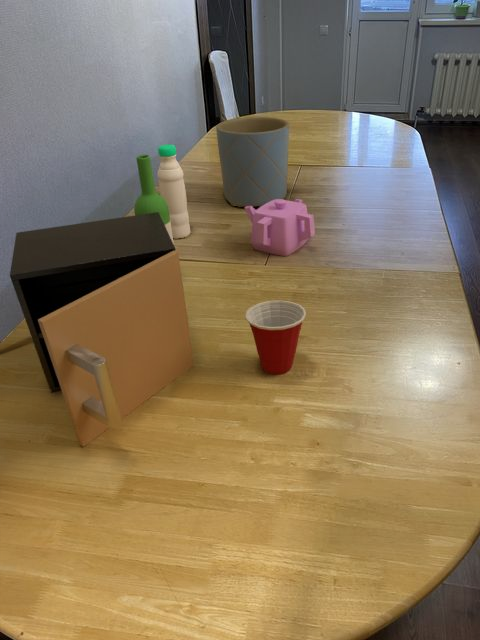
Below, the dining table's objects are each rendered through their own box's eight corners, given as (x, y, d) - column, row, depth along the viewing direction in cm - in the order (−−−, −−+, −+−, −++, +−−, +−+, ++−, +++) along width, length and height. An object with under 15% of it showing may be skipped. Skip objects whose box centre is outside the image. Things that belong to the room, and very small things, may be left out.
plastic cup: (296, 345, 104) (296, 293, 97) (312, 377, 95) (313, 323, 88) (243, 353, 102) (240, 300, 95) (254, 387, 93) (251, 332, 86)
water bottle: (195, 234, 151) (185, 145, 137) (176, 241, 147) (164, 150, 133) (180, 228, 155) (168, 141, 141) (161, 235, 151) (147, 146, 137)
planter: (291, 209, 165) (291, 131, 151) (220, 212, 165) (213, 134, 152) (287, 186, 184) (287, 115, 170) (223, 188, 184) (218, 118, 170)
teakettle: (258, 261, 136) (256, 215, 128) (244, 236, 149) (242, 193, 142) (320, 252, 139) (321, 207, 131) (300, 228, 152) (301, 187, 145)
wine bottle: (173, 271, 132) (155, 149, 115) (183, 283, 127) (165, 157, 109) (143, 278, 130) (120, 154, 112) (152, 291, 124) (129, 163, 107)
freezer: (191, 362, 100) (175, 248, 86) (51, 393, 94) (9, 275, 80) (174, 317, 114) (158, 211, 100) (51, 340, 108) (16, 232, 94)
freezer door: (221, 378, 96) (210, 261, 82) (112, 466, 79) (74, 338, 65) (190, 363, 100) (174, 250, 86) (79, 444, 83) (37, 319, 69)
